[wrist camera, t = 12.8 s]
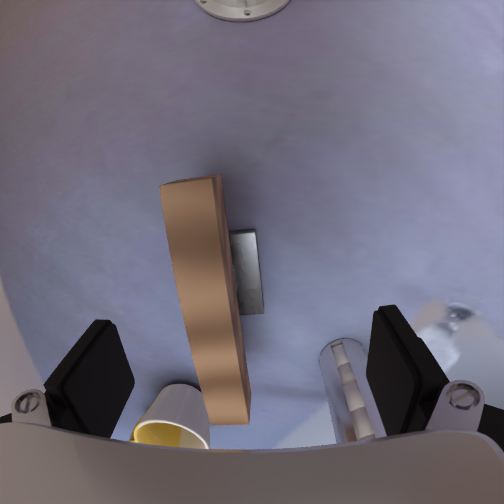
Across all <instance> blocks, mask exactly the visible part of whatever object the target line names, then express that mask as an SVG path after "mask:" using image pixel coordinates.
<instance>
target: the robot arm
mask: <svg viewBox="0 0 504 504" xmlns="http://www.w3.org/2000/svg"><path fill="white" fill-rule="evenodd" d="M289 1H290V0H195V2H196V3H197V5H198V6H199V7H200V8H201V9H202V10H203V11H205V12H206V13H208V14H210V15H211V16H214V17H216V18H219V19H222V20H227V21H236V22H245V21H254V20H259V19H263V18H265V17H268V16H271V15H273V14H274V13H276V12H278V11H280V10H281V9H282V8H283V7H285V6H286V5H287V3H288V2H289ZM205 2H206V3H205ZM203 3H204V4H203ZM247 14H249V16H246V15H247ZM366 378H367V381H368V384H369V386H370V389H371V392H372V395H373V397H374V400H375V403H376V406H377V409H378V412H379V415H380V417H381V420H382V423H383V426H384V429H385V432H386V435H387V436H386V437H380V438H374V439H368V440H361V441H354V442H347V443H339V444H330V445H322V446H312V447H301V448H284V449H257V450H224V449H198V448H183V447H171V446H161V445H151V444H143V443H136V442H129V441H122V440H116V439H110V437H111V435H112V433H113V431H114V429H115V426H116V424H117V422H118V420H119V418H120V415H121V413H122V411H123V409H124V407H125V405H126V402H127V400H128V398H129V396H130V394H131V392H132V390H133V388H134V384H135V381H134V376H133V374H132V371H131V368H130V366H129V363H128V360H127V357H126V354H125V352H124V349H123V346H122V343H121V340H120V337H119V334H118V331H117V328H116V325H115V324H112V322H111V321H110V320H95V321H94V322H93V323H92V324H91V325H90V326H89V328H88V329H87V330H86V331H85V333H84V334H83V335H82V336H81V337H80V339H79V340H78V341H77V342H76V344H75V345H74V346H73V347H72V349H71V350H70V351H69V352H68V354H67V355H66V356H65V357H64V359H63V360H62V361H61V363H60V364H59V365H58V366H57V368H56V369H55V370H54V372H53V373H52V374H51V375H50V377H49V378H48V379H47V381H46V382H45V383H44V387H45V389H46V392H45V393H43V392H42V391H40V390H37V389H30V390H26V391H24V392H22V393H21V394H19V395H18V396H17V397H16V398H15V399H14V400H13V403H12V407H11V410H12V413H10V414H7V415H5V416H2V417H0V504H504V410H502V409H499V408H496V407H493V406H490V405H487V404H484V402H485V396H484V393H483V391H482V390H481V388H480V387H479V386H477V385H476V384H474V383H472V382H470V381H466V380H455V381H452V382H450V381H449V380H448V378H447V377H446V375H445V373H444V372H443V370H442V369H441V367H440V366H439V364H438V362H437V361H436V359H435V358H434V356H433V355H432V353H431V352H430V350H429V349H428V347H427V346H426V344H425V343H424V341H423V340H422V339H421V338H419V337H417V335H416V334H415V332H414V331H413V329H412V328H411V326H410V325H409V323H408V322H407V321H406V319H405V318H404V316H403V315H402V313H401V312H400V310H399V309H398V308H397V306H396V305H387V306H380V307H379V309H378V311H374V313H373V321H372V330H371V338H370V346H369V353H368V360H367V367H366Z"/></svg>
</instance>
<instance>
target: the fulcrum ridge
mask: <svg viewBox="0 0 504 504" xmlns="http://www.w3.org/2000/svg"><path fill="white" fill-rule="evenodd" d="M228 235H229V242H230V250H231V257H232V265H233V272H234V280H235V287H236V294H237V301H238V308H239V315H252V314H264V304H263V295H262V286H261V277H260V268H259V259H258V249H257V240H256V231H255V229H254V230H244V231H235V232H228Z"/></svg>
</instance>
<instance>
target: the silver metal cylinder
mask: <svg viewBox="0 0 504 504" xmlns="http://www.w3.org/2000/svg"><path fill="white" fill-rule="evenodd" d="M367 360H368V358H367V356H366V353H365V351H364V349H363V347H362V345H361V344H360V343H359V342H357V341H355V340H353V339H348V338H346V339H339V340H336V341H333V342H332V343H330V344H328V345H327V346H326V347H325V348H324V349H323V351H322V352H321V355H320V357H319V364H320V368H321V373H322V377H323V382H324V386H325V391H326V395H327V400H328V404H329V409H330V414H331V418H332V423H333V427H334V432H335V437H336V442H337V444H339V443H347V442H354V441H361V440H368V439H374V438H380V437H386V436H387V435H386V432H385V429H384V426H383V423H382V420H381V417H380V415H379V412H378V409H377V406H376V403H375V400H374V397H373V395H372V392H371V389H370V386H369V384H368V381H367V378H366V367H367Z"/></svg>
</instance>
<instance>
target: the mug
mask: <svg viewBox="0 0 504 504" xmlns="http://www.w3.org/2000/svg"><path fill="white" fill-rule="evenodd" d="M129 442H136V443H143V444H151V445H161V446H171V447H183V448H198V449H210V432H209V416H208V413H207V409H206V406H205V402H204V399H203V395H202V393H201V392H200V391H199V390H198V389H196V388H195V387H193V386H190V385H187V384H172V385H169V386H166V387H165V388H163V389H162V390H161V392H160V393H159V395H158V396H157V398H156V399H155V400H154V402H153V403H152V405H151V406H150V407H149V409H148V410H147V412H146V413H145V414H144V416H143V417H142V418H141V419H140V420H139V421H138V422H137V424H136V426H135V428H134V430H133V432H132V434H131V436H130V439H129Z"/></svg>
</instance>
